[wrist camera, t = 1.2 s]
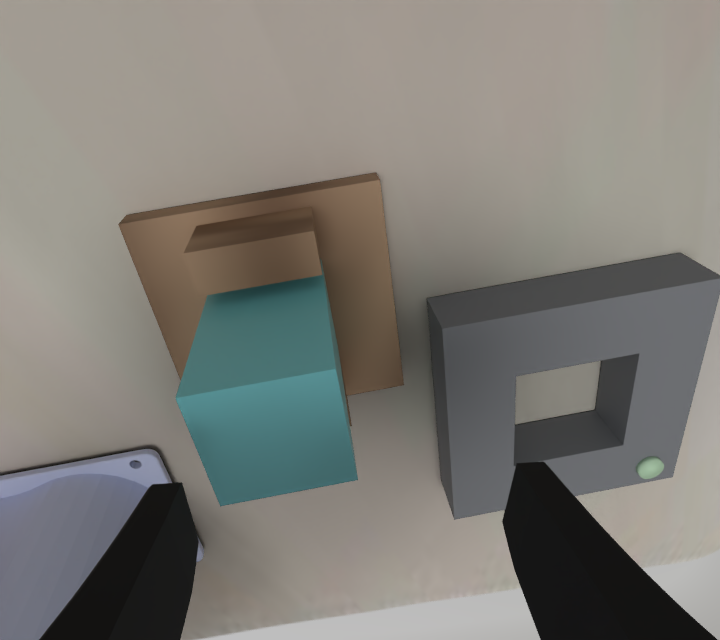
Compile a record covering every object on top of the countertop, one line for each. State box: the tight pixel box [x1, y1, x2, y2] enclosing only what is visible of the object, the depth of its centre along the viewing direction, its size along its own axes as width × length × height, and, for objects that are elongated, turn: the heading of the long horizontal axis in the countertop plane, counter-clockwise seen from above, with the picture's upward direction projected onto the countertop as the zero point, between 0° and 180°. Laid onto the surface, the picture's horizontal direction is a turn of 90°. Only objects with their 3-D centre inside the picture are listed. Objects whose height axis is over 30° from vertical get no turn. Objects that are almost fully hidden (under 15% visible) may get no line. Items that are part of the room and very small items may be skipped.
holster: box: [118, 173, 404, 426], centre depth 19 cm, size 9×9×4 cm
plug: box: [176, 259, 358, 506], centre depth 17 cm, size 4×4×7 cm
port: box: [427, 253, 720, 520], centre depth 23 cm, size 11×11×3 cm
